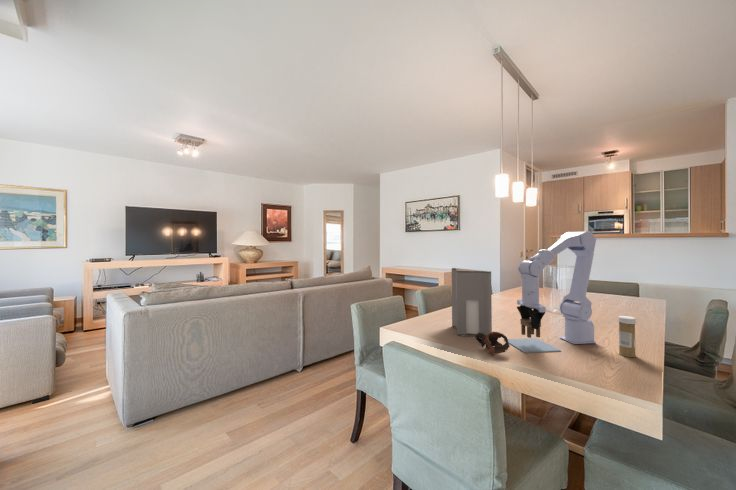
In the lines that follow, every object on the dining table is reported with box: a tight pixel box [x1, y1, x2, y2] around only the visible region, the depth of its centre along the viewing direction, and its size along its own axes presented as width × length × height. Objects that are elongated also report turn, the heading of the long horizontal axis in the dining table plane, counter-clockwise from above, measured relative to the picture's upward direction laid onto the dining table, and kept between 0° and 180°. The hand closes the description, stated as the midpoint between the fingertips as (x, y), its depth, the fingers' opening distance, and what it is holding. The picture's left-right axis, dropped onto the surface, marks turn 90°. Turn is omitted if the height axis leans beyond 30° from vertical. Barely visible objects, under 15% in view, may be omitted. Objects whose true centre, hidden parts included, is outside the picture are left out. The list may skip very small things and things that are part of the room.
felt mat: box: [503, 337, 562, 354], centre depth 115 cm, size 14×14×1 cm
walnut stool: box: [520, 318, 542, 338], centre depth 115 cm, size 5×5×6 cm
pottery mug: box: [475, 331, 511, 357], centre depth 109 cm, size 12×10×8 cm
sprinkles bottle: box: [617, 315, 637, 358], centre depth 104 cm, size 5×5×14 cm
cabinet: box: [451, 267, 493, 338], centre depth 131 cm, size 21×10×28 cm, turn 30°
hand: (530, 326), depth 115 cm, fingers closed on walnut stool, 5 cm apart
